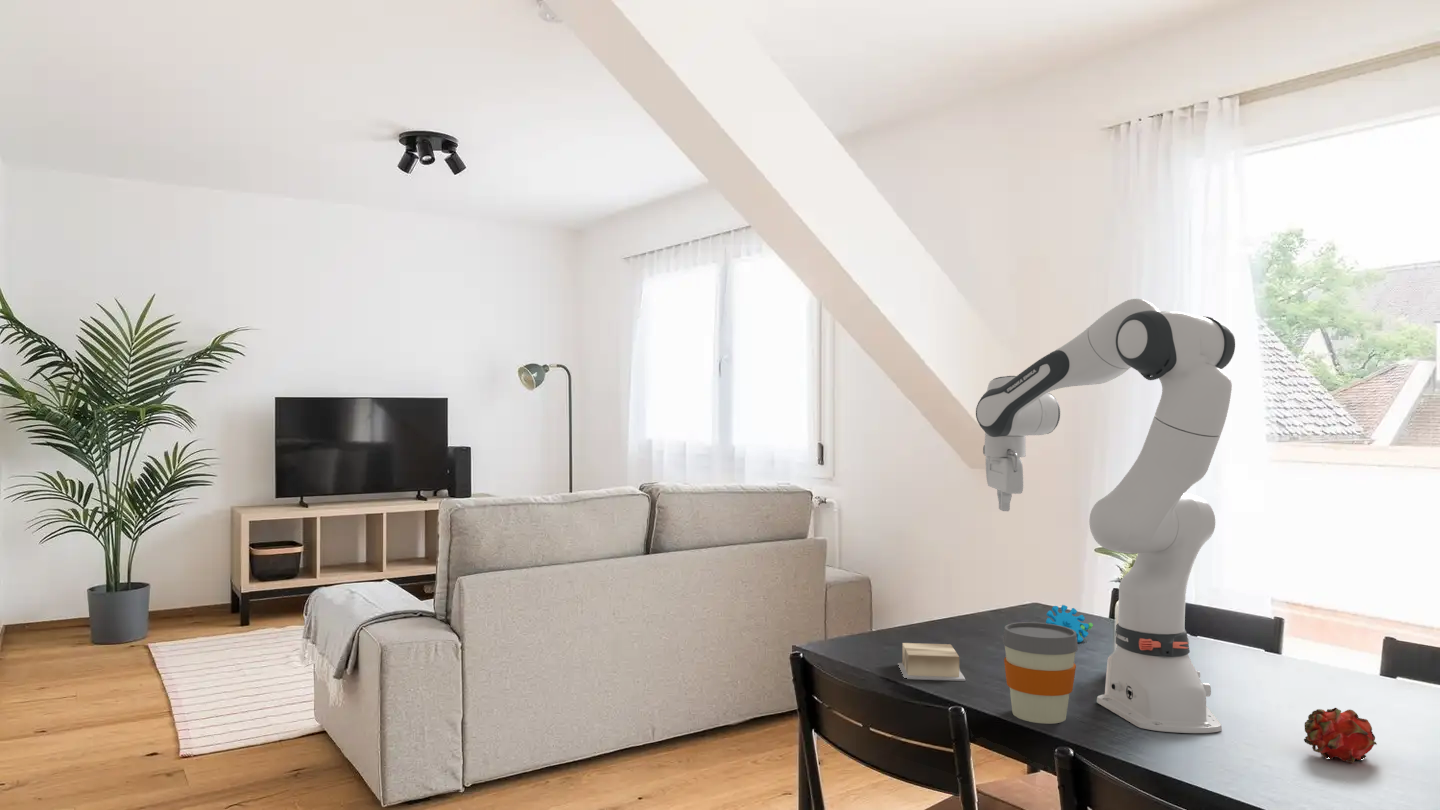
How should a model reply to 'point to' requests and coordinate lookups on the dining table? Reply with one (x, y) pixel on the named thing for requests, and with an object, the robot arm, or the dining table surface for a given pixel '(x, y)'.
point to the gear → (1069, 621)
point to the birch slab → (930, 659)
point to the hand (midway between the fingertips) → (1004, 510)
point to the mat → (905, 675)
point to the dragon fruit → (1339, 734)
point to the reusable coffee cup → (1039, 670)
